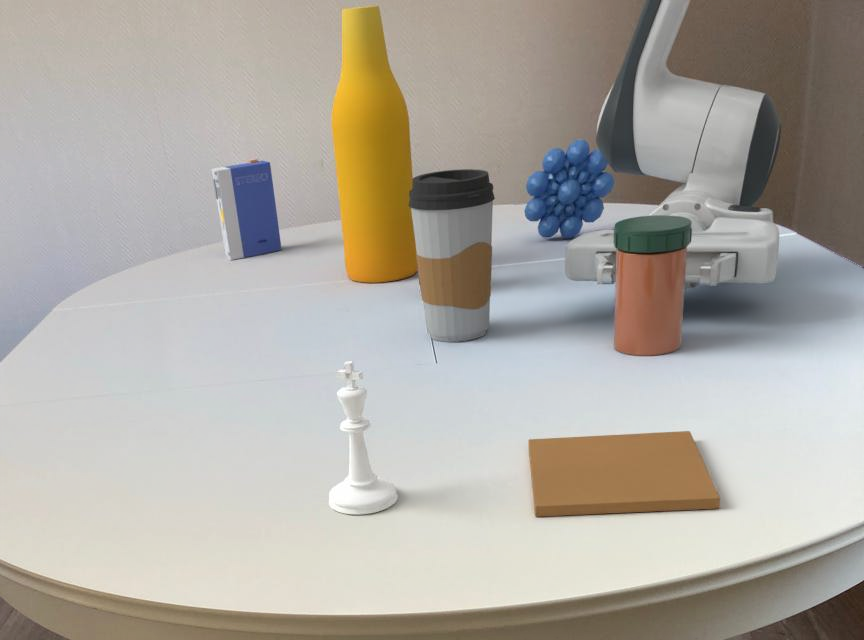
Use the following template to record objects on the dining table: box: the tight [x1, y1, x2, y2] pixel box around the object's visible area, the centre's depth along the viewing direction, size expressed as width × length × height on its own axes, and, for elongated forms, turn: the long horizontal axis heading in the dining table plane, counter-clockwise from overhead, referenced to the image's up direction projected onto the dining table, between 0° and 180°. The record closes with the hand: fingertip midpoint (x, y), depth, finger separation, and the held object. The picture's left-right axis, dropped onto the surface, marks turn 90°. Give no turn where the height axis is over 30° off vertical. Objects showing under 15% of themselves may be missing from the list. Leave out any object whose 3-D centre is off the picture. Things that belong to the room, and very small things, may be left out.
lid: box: [613, 215, 692, 253], centre depth 94 cm, size 7×7×2 cm
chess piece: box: [328, 360, 399, 516], centre depth 73 cm, size 5×5×10 cm
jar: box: [613, 246, 687, 357], centre depth 97 cm, size 6×6×10 cm
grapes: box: [524, 138, 615, 239], centre depth 139 cm, size 12×7×12 cm, turn 88°
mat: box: [527, 430, 721, 518], centre depth 75 cm, size 12×12×1 cm
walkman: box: [211, 158, 283, 261], centre depth 147 cm, size 8×3×12 cm, turn 117°
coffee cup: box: [409, 168, 496, 343], centre depth 104 cm, size 8×8×15 cm
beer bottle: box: [330, 5, 418, 284], centre depth 126 cm, size 9×9×29 cm
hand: (655, 276), depth 98 cm, fingers open, 8 cm apart
